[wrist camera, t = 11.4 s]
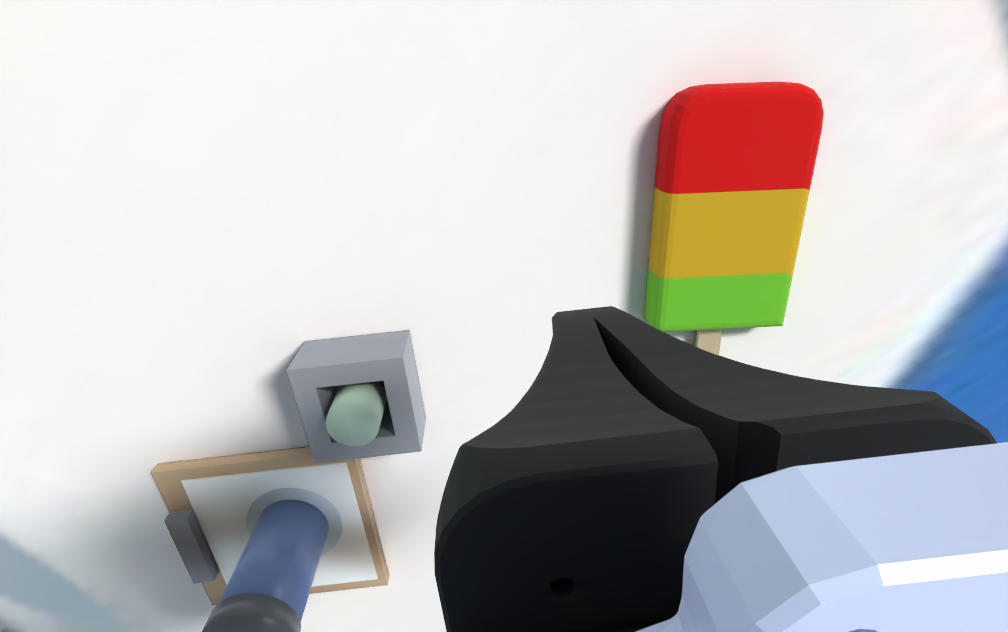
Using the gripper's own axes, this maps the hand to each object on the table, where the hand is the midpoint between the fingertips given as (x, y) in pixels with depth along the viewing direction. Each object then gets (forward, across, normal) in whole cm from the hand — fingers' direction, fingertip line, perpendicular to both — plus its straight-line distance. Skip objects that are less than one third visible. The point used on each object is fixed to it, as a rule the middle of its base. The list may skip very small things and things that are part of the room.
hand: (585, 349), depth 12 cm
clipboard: (+10, +14, +13) cm, 21 cm away
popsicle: (+11, -7, +3) cm, 13 cm away
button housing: (+10, +8, +6) cm, 14 cm away
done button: (+9, +8, +6) cm, 13 cm away
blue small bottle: (+9, +12, +13) cm, 20 cm away
